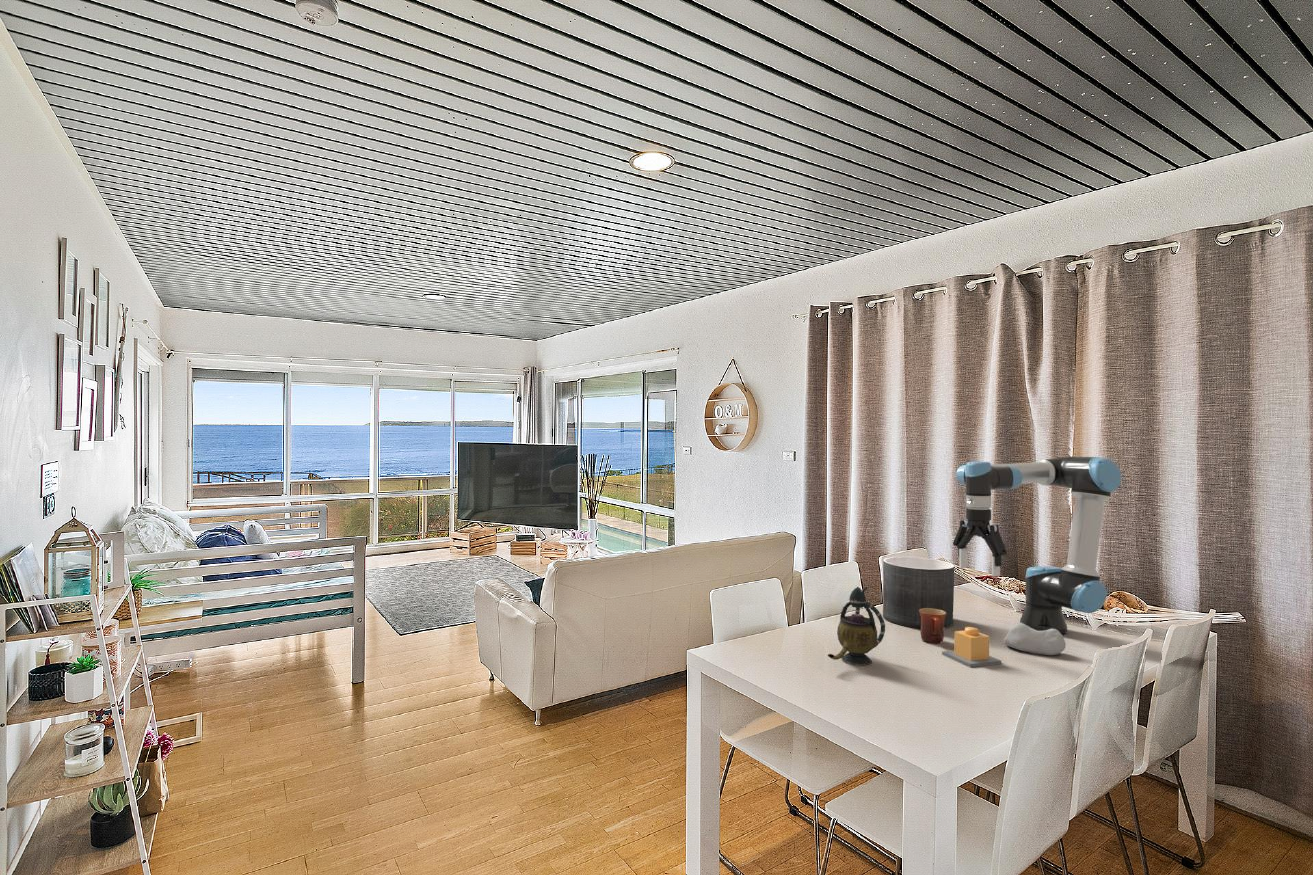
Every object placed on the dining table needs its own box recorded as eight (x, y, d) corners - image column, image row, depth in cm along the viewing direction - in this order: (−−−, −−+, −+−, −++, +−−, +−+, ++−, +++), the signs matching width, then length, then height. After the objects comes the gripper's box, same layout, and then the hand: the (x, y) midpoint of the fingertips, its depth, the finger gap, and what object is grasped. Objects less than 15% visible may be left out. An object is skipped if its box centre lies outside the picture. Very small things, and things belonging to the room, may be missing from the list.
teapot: (888, 659, 203) (889, 585, 203) (849, 679, 185) (850, 598, 185) (852, 649, 211) (853, 579, 211) (812, 668, 193) (813, 591, 194)
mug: (916, 636, 227) (916, 607, 227) (942, 638, 226) (943, 609, 226) (923, 647, 216) (923, 616, 216) (951, 649, 214) (951, 618, 214)
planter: (965, 630, 236) (966, 570, 236) (895, 628, 236) (896, 568, 236) (936, 611, 261) (937, 557, 261) (873, 610, 261) (874, 556, 262)
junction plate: (971, 651, 212) (972, 633, 212) (1001, 663, 200) (1001, 644, 200) (941, 654, 208) (942, 635, 208) (970, 667, 197) (970, 647, 197)
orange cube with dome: (971, 651, 209) (972, 624, 209) (988, 658, 202) (989, 631, 202) (954, 653, 207) (954, 626, 207) (970, 660, 200) (971, 632, 200)
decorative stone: (1002, 642, 213) (1006, 614, 218) (1003, 652, 220) (1008, 625, 225) (1063, 657, 203) (1067, 627, 208) (1063, 667, 210) (1066, 638, 215)
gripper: (941, 504, 225) (942, 565, 225) (1000, 512, 201) (1001, 580, 201) (958, 503, 227) (959, 563, 227) (1019, 511, 204) (1019, 578, 204)
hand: (979, 571), depth 214 cm, fingers open, 13 cm apart
